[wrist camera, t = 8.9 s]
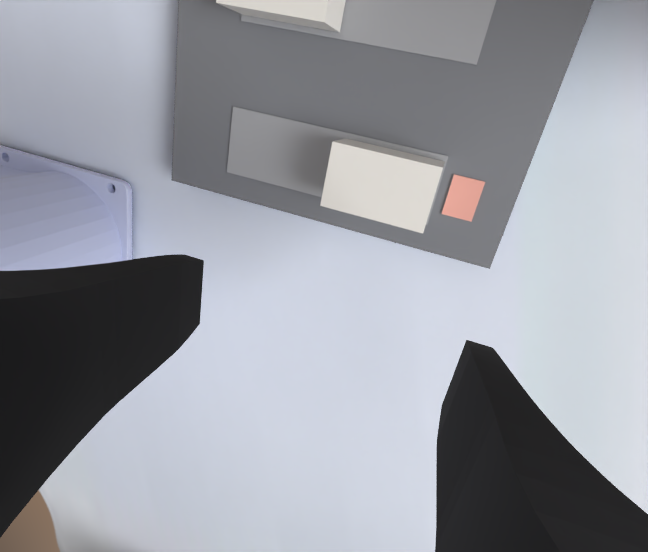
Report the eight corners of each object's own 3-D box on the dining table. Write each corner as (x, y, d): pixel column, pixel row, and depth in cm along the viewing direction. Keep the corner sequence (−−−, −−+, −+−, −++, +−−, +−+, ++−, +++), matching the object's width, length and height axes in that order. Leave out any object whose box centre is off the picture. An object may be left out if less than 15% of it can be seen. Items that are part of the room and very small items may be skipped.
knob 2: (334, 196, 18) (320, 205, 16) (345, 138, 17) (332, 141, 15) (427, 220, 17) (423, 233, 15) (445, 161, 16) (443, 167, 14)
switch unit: (186, 176, 21) (170, 180, 20) (213, -321, 14) (191, -360, 13) (487, 259, 18) (489, 269, 17) (707, -315, 11) (735, -363, 10)
